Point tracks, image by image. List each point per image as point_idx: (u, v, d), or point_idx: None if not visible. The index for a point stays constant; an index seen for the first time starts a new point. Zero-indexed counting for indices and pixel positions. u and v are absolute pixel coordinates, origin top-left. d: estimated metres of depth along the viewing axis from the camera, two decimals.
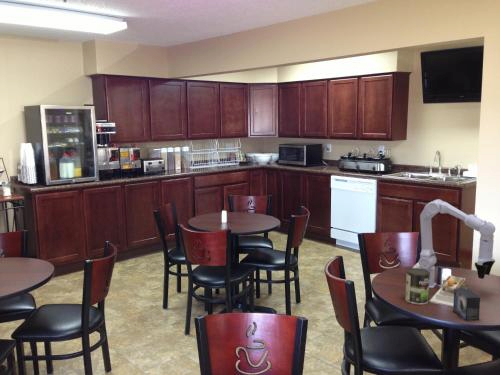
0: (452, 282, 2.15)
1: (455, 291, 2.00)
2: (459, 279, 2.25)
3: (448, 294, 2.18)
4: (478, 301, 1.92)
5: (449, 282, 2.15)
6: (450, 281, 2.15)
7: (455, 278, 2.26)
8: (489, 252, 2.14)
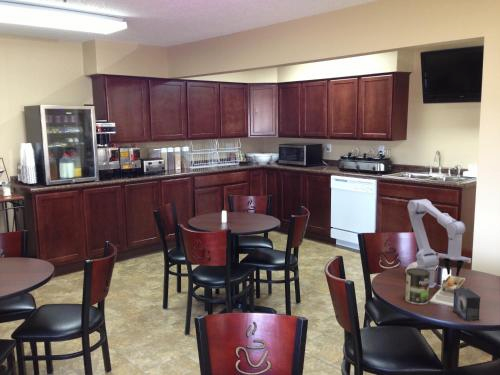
0: (452, 282, 2.15)
1: (455, 291, 2.00)
2: (459, 279, 2.25)
3: (448, 294, 2.18)
4: (478, 301, 1.92)
5: (449, 282, 2.15)
6: (450, 281, 2.15)
7: (455, 278, 2.26)
8: (449, 249, 2.16)
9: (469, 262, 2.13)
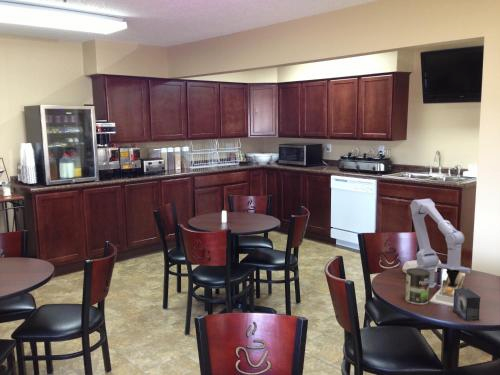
0: (451, 292, 2.14)
1: (455, 291, 2.00)
2: (459, 276, 2.24)
3: (448, 294, 2.18)
4: (478, 301, 1.92)
5: (448, 292, 2.15)
6: None
7: None
8: (449, 259, 2.17)
9: (468, 272, 2.14)
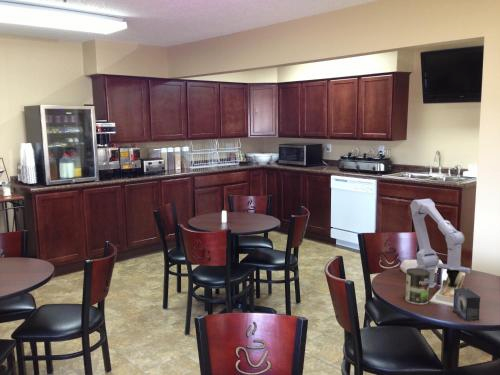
0: None
1: (455, 291, 2.00)
2: (459, 276, 2.24)
3: None
4: (478, 301, 1.92)
5: None
6: None
7: None
8: (449, 259, 2.17)
9: (468, 272, 2.14)
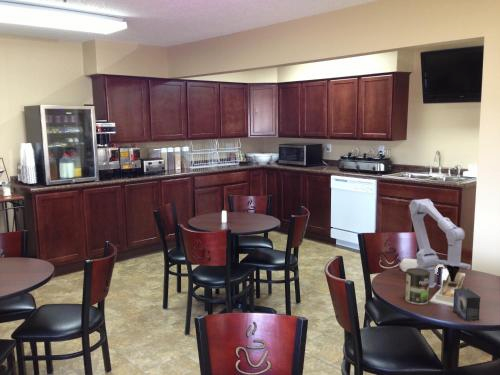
0: None
1: (455, 291, 2.00)
2: (459, 276, 2.24)
3: None
4: (478, 301, 1.92)
5: None
6: None
7: None
8: (449, 255, 2.17)
9: (469, 268, 2.14)
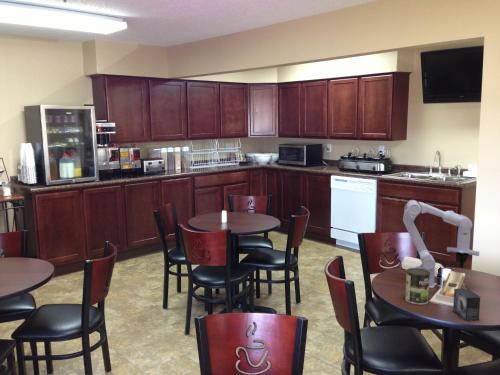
0: None
1: (455, 291, 2.00)
2: (459, 276, 2.24)
3: None
4: (478, 301, 1.92)
5: None
6: None
7: (455, 275, 2.26)
8: (458, 243, 2.27)
9: (477, 255, 2.24)
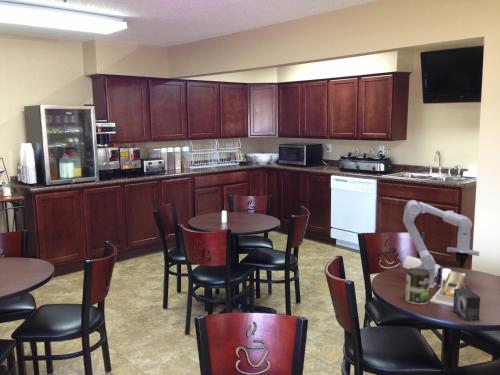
0: None
1: (455, 291, 2.00)
2: (459, 276, 2.24)
3: None
4: (478, 301, 1.92)
5: None
6: None
7: (455, 275, 2.26)
8: (458, 243, 2.28)
9: (477, 255, 2.24)
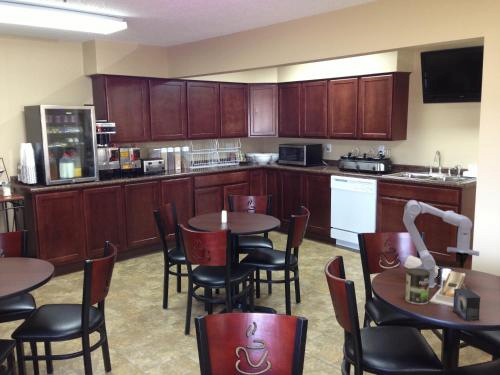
0: None
1: (455, 291, 2.00)
2: (459, 276, 2.24)
3: None
4: (478, 301, 1.92)
5: None
6: None
7: (455, 275, 2.26)
8: (458, 243, 2.28)
9: (477, 255, 2.24)
